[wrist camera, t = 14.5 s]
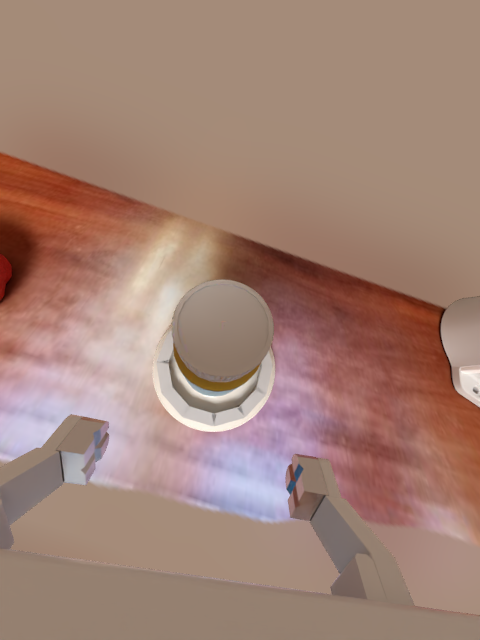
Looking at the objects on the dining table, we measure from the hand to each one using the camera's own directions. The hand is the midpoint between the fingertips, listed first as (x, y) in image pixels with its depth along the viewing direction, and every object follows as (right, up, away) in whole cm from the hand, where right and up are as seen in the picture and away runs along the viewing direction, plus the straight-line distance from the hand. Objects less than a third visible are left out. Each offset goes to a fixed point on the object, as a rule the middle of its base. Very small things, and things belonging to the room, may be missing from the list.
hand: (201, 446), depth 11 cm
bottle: (-1, 0, +18) cm, 18 cm away
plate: (-1, 0, +19) cm, 19 cm away
